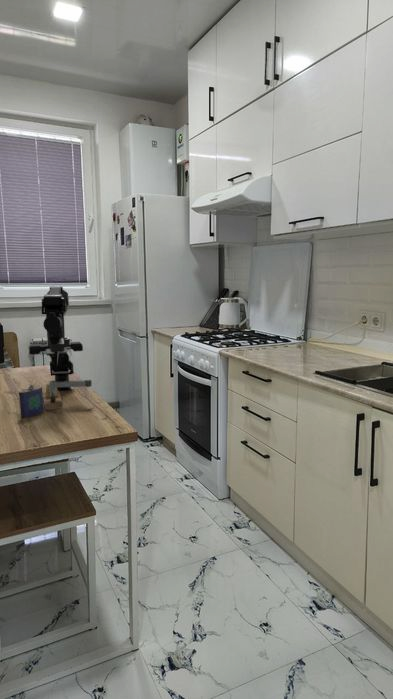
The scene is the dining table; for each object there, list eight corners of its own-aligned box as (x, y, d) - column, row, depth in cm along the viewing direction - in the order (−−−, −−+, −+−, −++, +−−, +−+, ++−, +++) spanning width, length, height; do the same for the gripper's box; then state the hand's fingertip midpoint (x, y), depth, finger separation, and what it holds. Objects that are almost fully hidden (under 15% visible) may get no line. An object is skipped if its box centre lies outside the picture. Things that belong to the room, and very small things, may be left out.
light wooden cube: (45, 393, 174) (45, 381, 173) (56, 393, 175) (56, 380, 174) (46, 397, 168) (45, 384, 168) (57, 396, 170) (57, 383, 169)
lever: (92, 398, 165) (91, 379, 164) (91, 400, 163) (91, 381, 162) (51, 400, 164) (50, 381, 162) (49, 402, 161) (48, 382, 160)
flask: (40, 410, 159) (38, 381, 157) (46, 412, 157) (44, 381, 156) (19, 418, 151) (16, 386, 149) (25, 419, 149) (23, 387, 148)
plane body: (43, 396, 178) (42, 384, 177) (59, 395, 180) (58, 383, 179) (44, 409, 160) (43, 395, 159) (62, 407, 162) (61, 394, 161)
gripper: (28, 333, 156) (31, 377, 158) (83, 330, 162) (85, 372, 165) (27, 329, 166) (30, 371, 168) (79, 326, 172) (81, 367, 175)
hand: (57, 370), depth 169 cm, fingers closed
